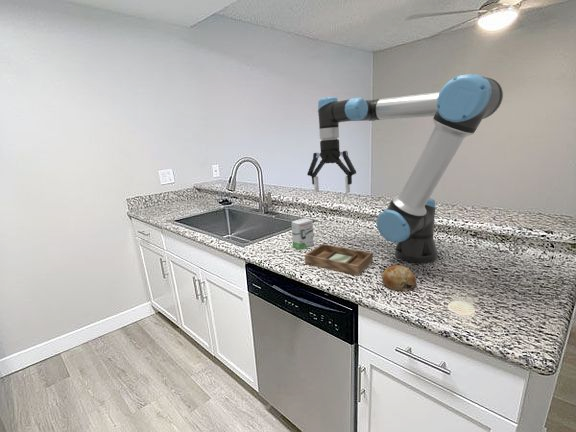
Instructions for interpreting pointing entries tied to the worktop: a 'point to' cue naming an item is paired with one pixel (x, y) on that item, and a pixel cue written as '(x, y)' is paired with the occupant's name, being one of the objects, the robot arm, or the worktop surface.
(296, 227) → the ink box
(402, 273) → the bread roll
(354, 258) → the tray
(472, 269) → the worktop surface
